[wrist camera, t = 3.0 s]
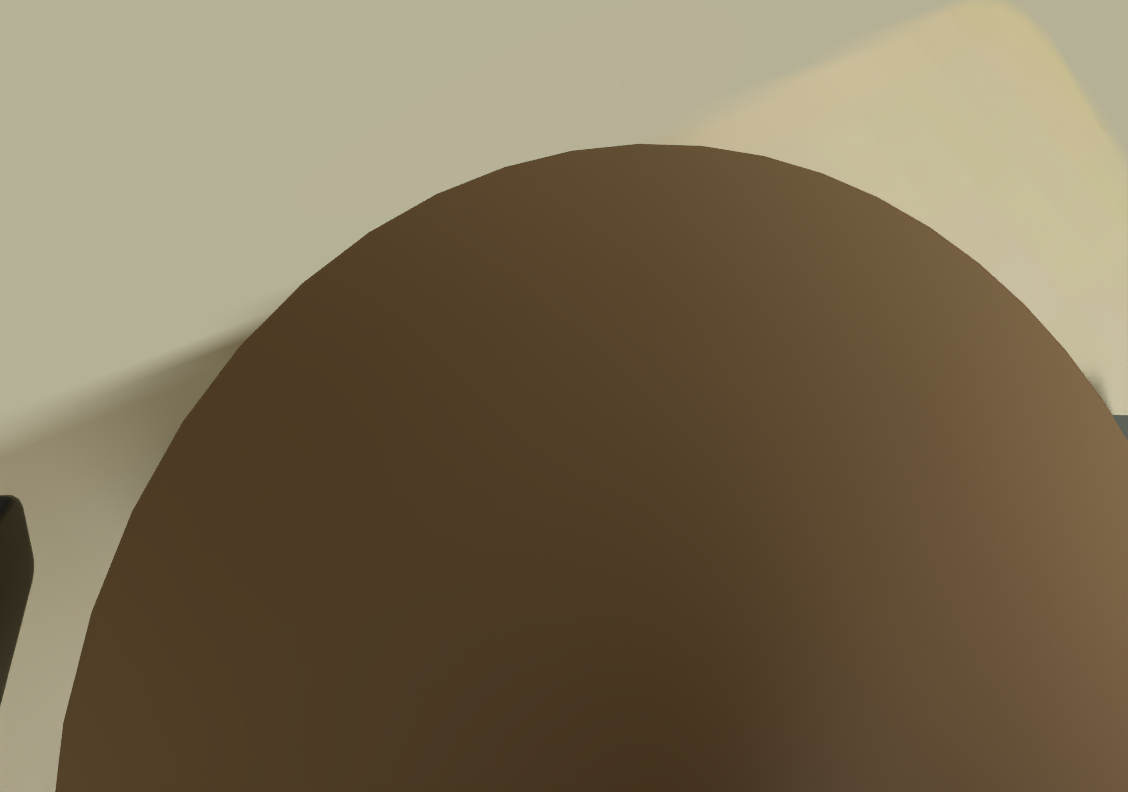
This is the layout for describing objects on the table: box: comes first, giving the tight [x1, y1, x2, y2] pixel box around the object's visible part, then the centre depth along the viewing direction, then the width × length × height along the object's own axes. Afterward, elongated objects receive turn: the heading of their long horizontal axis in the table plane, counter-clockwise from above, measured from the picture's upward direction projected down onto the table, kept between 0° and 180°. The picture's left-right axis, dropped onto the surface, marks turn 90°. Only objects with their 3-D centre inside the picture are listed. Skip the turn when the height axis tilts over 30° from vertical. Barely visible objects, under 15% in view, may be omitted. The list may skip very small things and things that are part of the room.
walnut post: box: [55, 144, 1128, 792], centre depth 9 cm, size 5×5×13 cm
